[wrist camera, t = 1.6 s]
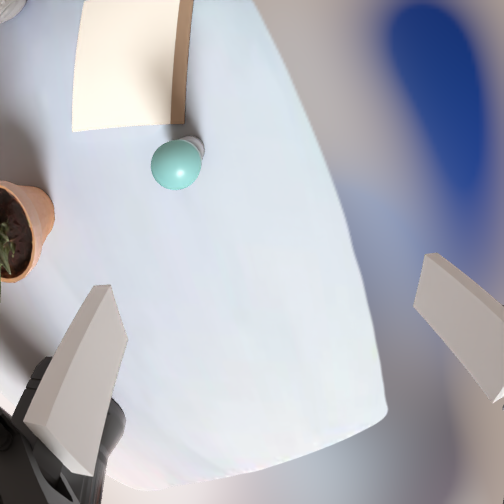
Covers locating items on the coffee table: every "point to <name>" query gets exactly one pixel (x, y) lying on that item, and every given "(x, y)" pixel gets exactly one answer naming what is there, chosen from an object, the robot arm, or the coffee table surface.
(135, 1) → the notepad
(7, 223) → the potted plant
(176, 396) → the coffee table surface
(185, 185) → the marker
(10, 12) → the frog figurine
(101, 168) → the coffee table surface
